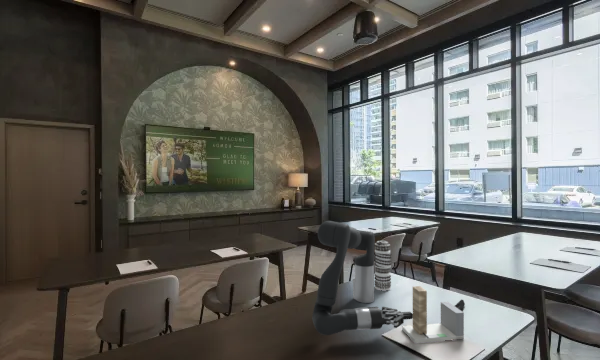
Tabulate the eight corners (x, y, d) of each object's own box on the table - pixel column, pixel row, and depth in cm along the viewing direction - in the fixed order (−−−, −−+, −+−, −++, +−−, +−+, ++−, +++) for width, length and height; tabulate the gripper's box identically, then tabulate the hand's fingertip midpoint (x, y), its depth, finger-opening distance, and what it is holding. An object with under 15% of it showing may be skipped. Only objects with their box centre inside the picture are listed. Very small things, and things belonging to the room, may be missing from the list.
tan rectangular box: (424, 339, 114) (423, 294, 114) (412, 328, 122) (412, 286, 122) (431, 338, 114) (431, 294, 114) (420, 327, 123) (420, 286, 122)
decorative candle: (374, 290, 167) (374, 243, 166) (373, 284, 176) (373, 239, 175) (392, 291, 165) (392, 243, 165) (390, 285, 174) (390, 239, 174)
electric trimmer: (466, 307, 146) (466, 300, 146) (458, 318, 134) (458, 311, 134) (458, 305, 149) (458, 298, 149) (448, 316, 137) (448, 308, 137)
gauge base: (414, 343, 115) (414, 315, 114) (402, 330, 124) (402, 304, 124) (463, 339, 117) (463, 312, 117) (447, 326, 127) (447, 301, 127)
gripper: (373, 316, 111) (420, 312, 113) (361, 301, 124) (403, 298, 126) (373, 337, 111) (420, 333, 113) (361, 320, 124) (403, 317, 126)
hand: (411, 315), depth 119 cm, fingers closed
